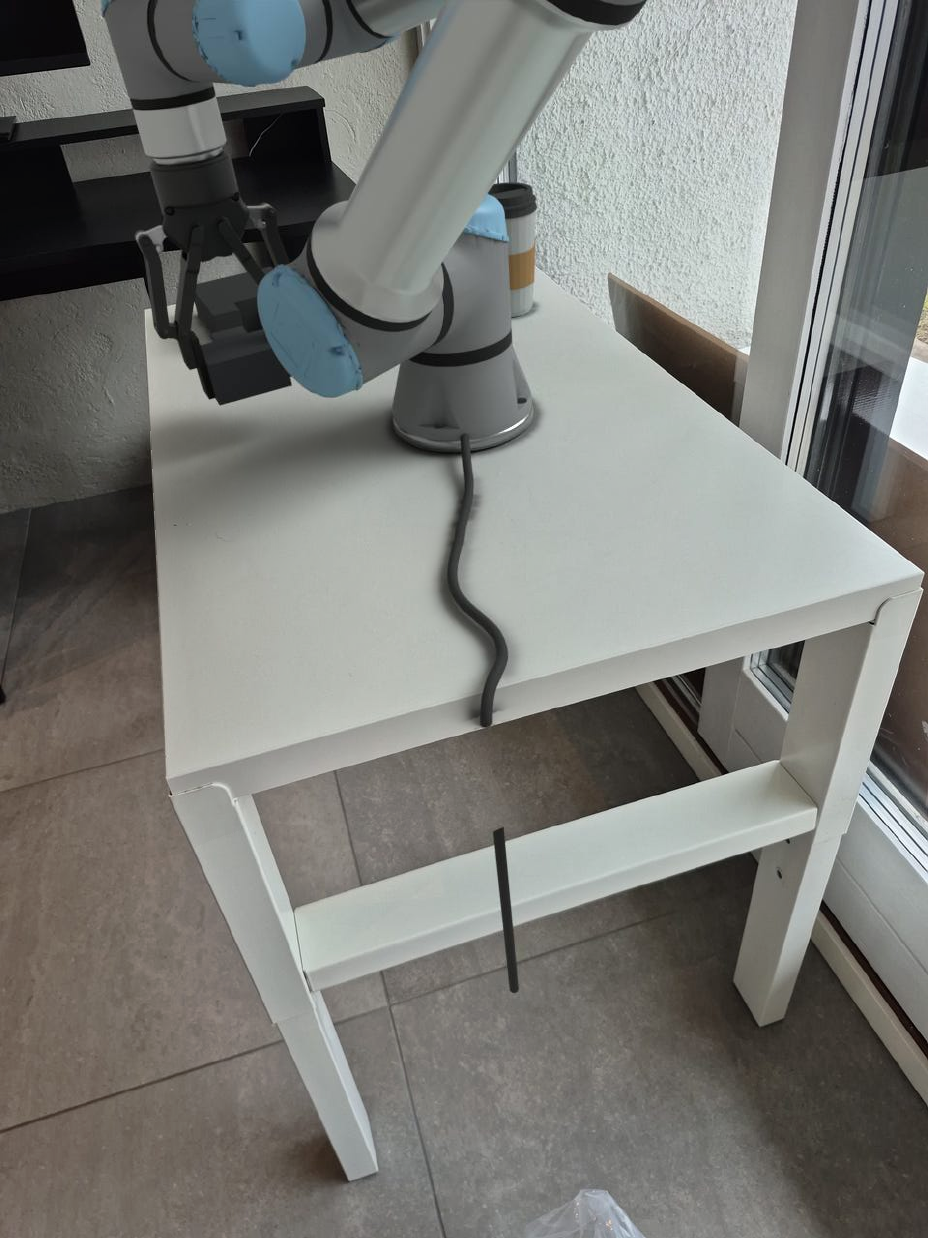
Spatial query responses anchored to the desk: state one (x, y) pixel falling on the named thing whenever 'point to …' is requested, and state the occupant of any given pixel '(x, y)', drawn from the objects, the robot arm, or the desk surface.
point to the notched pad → (229, 303)
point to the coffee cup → (519, 241)
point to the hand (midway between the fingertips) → (248, 383)
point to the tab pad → (242, 365)
